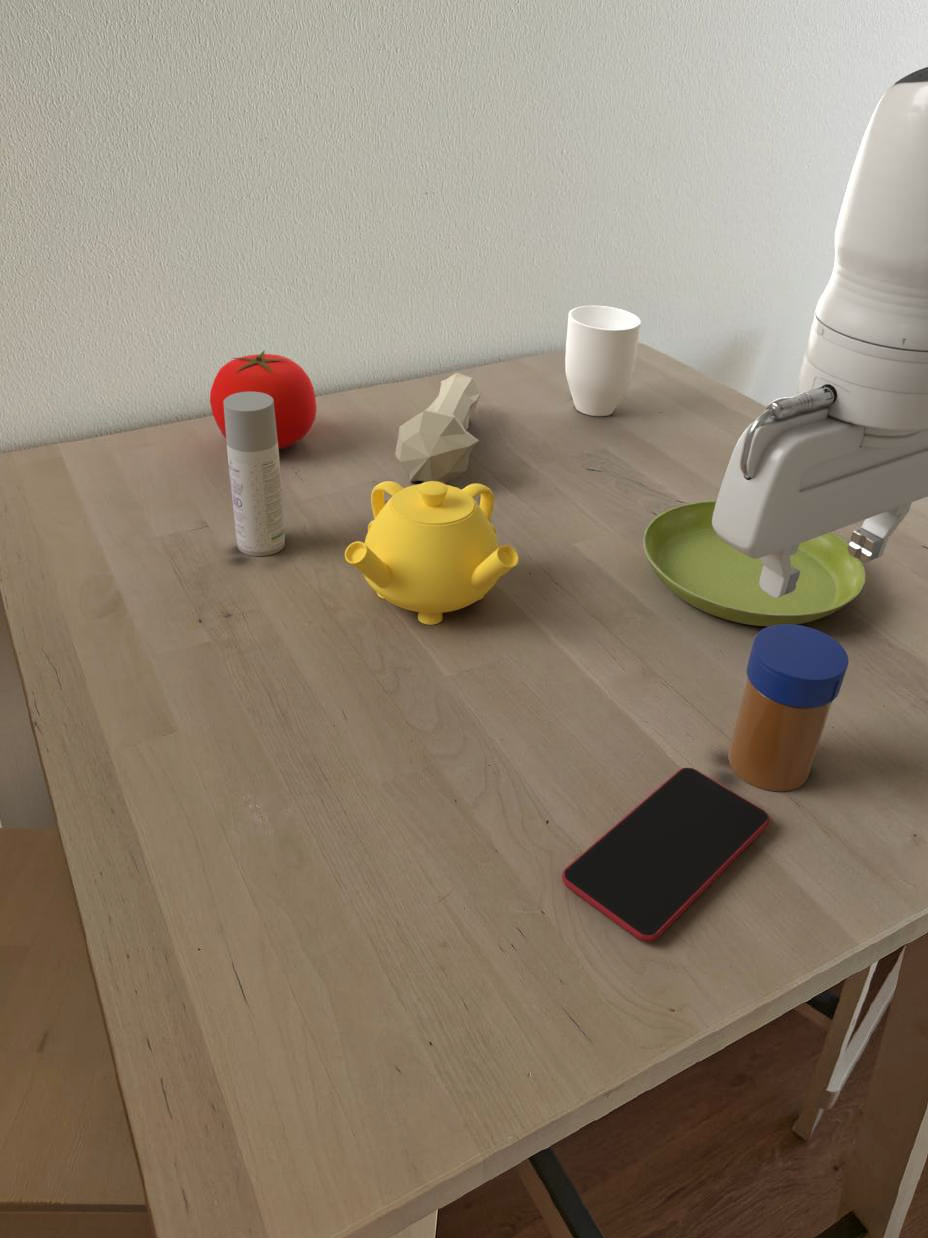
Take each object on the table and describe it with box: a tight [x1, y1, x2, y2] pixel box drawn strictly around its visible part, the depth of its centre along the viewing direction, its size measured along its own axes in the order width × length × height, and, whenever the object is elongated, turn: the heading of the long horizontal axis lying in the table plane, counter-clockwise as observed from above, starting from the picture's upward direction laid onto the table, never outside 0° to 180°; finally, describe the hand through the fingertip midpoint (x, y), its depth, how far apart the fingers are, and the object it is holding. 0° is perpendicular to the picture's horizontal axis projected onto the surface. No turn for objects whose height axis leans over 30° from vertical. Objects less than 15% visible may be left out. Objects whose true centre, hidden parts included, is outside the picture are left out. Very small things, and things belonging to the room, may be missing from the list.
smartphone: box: [561, 767, 770, 943], centre depth 68 cm, size 7×1×15 cm
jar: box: [727, 677, 834, 792], centre depth 73 cm, size 6×6×10 cm
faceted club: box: [394, 372, 482, 485], centre depth 117 cm, size 9×8×25 cm
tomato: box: [209, 349, 317, 450], centre depth 115 cm, size 12×12×10 cm
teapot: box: [344, 480, 520, 626], centre depth 90 cm, size 14×14×11 cm
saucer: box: [642, 500, 866, 627], centre depth 97 cm, size 21×21×3 cm
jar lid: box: [746, 624, 849, 708], centre depth 71 cm, size 6×6×2 cm
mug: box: [564, 305, 641, 417], centre depth 128 cm, size 12×9×12 cm
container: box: [224, 392, 286, 557], centre depth 95 cm, size 5×5×15 cm
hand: (820, 573), depth 67 cm, fingers open, 7 cm apart
